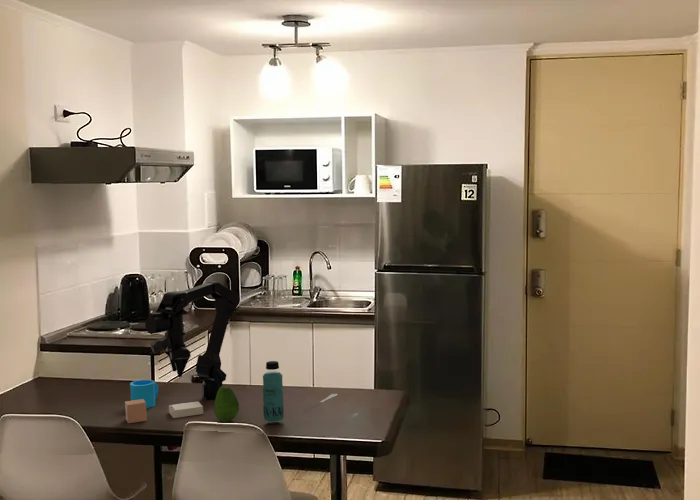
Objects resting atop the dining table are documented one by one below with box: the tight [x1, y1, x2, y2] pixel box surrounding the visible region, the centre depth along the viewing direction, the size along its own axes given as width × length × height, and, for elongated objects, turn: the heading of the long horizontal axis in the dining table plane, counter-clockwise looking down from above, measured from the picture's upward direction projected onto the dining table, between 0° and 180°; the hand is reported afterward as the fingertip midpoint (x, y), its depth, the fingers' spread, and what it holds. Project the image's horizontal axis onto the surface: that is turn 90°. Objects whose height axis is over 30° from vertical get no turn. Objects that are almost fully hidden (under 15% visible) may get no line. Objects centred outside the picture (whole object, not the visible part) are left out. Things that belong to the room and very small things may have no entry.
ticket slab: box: [168, 401, 204, 419], centre depth 269 cm, size 10×7×3 cm
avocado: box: [213, 384, 240, 423], centre depth 258 cm, size 8×8×12 cm
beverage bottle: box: [262, 360, 285, 423], centre depth 254 cm, size 6×7×20 cm
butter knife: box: [319, 393, 338, 403], centre depth 277 cm, size 1×24×3 cm
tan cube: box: [124, 399, 148, 424], centre depth 262 cm, size 6×5×6 cm
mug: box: [129, 379, 160, 409], centre depth 281 cm, size 12×8×8 cm
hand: (177, 374), depth 274 cm, fingers open, 9 cm apart
